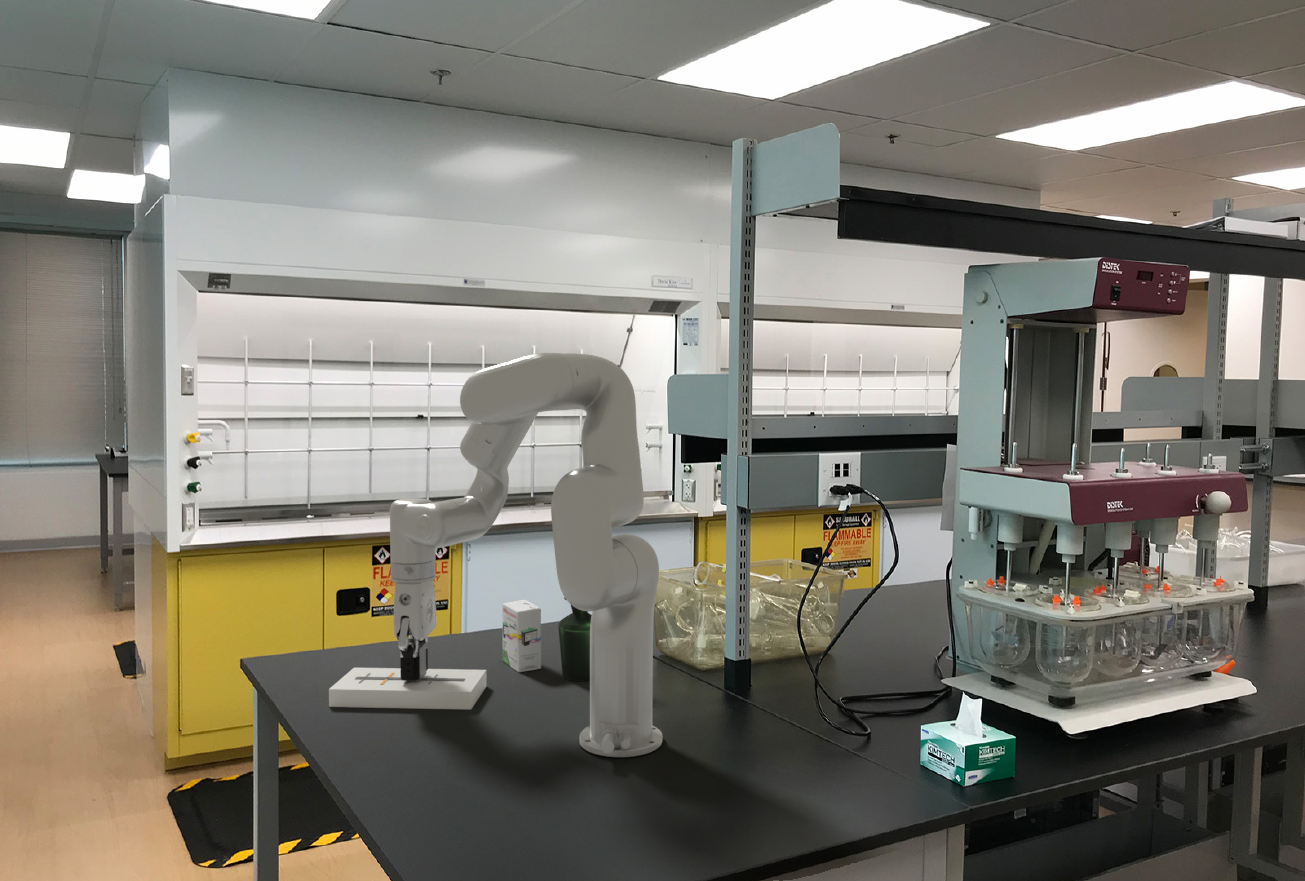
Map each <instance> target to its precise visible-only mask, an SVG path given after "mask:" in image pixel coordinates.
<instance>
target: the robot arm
mask: <svg viewBox="0 0 1305 881" xmlns="http://www.w3.org/2000/svg"><path fill="white" fill-rule="evenodd" d="M634 389H635V388H634V386H633V384H632V382H631V379H630V378H629V376H628V375H627V373H626V372H625V371H624V369H623V368H621V367H620V366H619V365H617V364H616V363H615V362H613V361H611V360H610V359H607V358H604V357H601V356H598V355H593V354H588V353H587V354H586V353H562V352H561V353H557V352H539V353H533V354H529V355H526V356H522V357H519V358H516V359H512V360H510V361H507V362H502V363H499V364H496V365H492V366H489V367H486V368H482V369H480V370H478V371H475V373H473V374H471V375H470V376H469V377H468V378H467V380H466V381H465V382H464V384H463V386H462V389H461V392H460V396H459V405H460V409H461V412H462V413H463V415H464V417H465V418H466V419H467V420H468V421H469V422H471V423H470V426H469V427H468V429H467V431H466V433H465V435H464V436H463V438H462V439H461V442H460V444H459V450H460V454H461V455H462V457H463V458H464V459H465V461H467V463H468V464H470V465H471V466H472V467H473V468H475V469H477V470H476V475H475V478H474V480H473V481H472V483H471V484H470V485H471V486H470V487H469V488H468V491H467V492H466V494H465V495H464V497H459V498H453V499H447V500H446V499H445V500H441V501H435V502H433V501H432V500H430V499H428V498H422V497H421V498H420V497H407V498H400V499H396V500H394V501H393V502H392V503H391V504H390V507H389V533H390V534H389V541H390V543H389V546H390V551H389V552H390V553H389V554H390V555H389V557H390V558H389V560H390V581H391V582H393V583H394V584H395V585H394V595H393V596H394V597H393V633H394V638H395V640H397V641H398V644H397V647H398V648H399V658H400V660H399V661H400V665H399V666H400V668H401V679H402V680H419V679H420V656H418V642H419V643H426V671H427V670H428V669H429V656H428V655H429V649H428V645H429V643H428V642H429V640H428V636H429V635H430V634H431V633H433V631H434V630H435V629H436V627H437V609H436V608H437V606H436V605H437V604H436V592H435V582H434V580H435V579H436V575H437V572H436V568H437V567H436V566H437V565H436V563H437V562H436V549H439V548H440V549H441V548H444V547H449V546H453V545H456V544H461V543H462V544H463V543H465V542H471V541H475V540H478V539H480V538H481V537H483V536H484V535H485V534H487V533H488V531H489V530H490V529H491V527H493V524H494V523H495V522H496V520H497V519H498V517H499V514H500V513H501V511H502V509H503V508H504V505H505V504H506V502H507V498H508V494H509V484H510V480H509V478H510V477H509V471H508V467H509V465H510V464H511V462H512V459H513V458H514V456H515V455H516V453H517V451H518V449H519V448H520V445H521V444H522V442H523V440H524V439H525V437H526V435H527V434H528V432H529V430H530V428H531V427H532V425H533V423H534V421H535V419H536V417H537V416H538V415H539V413H543V412H550V411H551V412H552V411H568V410H569V411H570V410H582V411H584V412H585V413H586V414H585V419H584V421H583V425H582V430H581V437H580V438H581V440H580V441H581V449H582V450H581V451H582V463H583V465H582V466H583V467H579V468H576V469H573V470H570V471H568V472H567V473H566V474H564V475H563V476H562V477H561V478H560V480H559V481H558V482H557V484H556V485H555V488H554V490H553V493H552V496H551V497H552V498H551V502H550V503H551V504H550V515H551V526H552V527H551V528H552V535H553V546H554V548H553V549H554V559H555V567H556V568H555V570H556V575H557V581H558V585H559V588H560V591H561V592H562V595H563V596H564V597H565V598H566V600H565V601H567V602H568V603H569V604H571V605H572V606H574V607H575V608H577V609H579V610H582V611H588V612H592V613H591V615H592V616H591V624H590V680H589V726H586V727H584V728H583V730H581V731H580V733H579V736H578V737H579V745H580V746H581V747H582V748H583V749H584V750H585V751H587V752H589V753H591V754H594V755H598V756H602V757H609V758H631V757H639V756H643V755H647V754H649V753H652V752H653V751H656V750H657V749H659V748H660V747H661V746H662V743H663V737H664V736H663V733H662V731H661V730H660V729H659V728H658V727H656V726H655V725H653V692H654V691H653V684H654V683H653V682H654V681H653V679H654V678H653V677H654V676H653V673H654V672H653V671H654V670H653V669H654V666H653V664H654V661H653V660H654V658H653V656H654V654H653V651H654V645H653V644H654V643H653V642H654V614H655V604H656V603H655V602H656V597H657V596H656V595H657V591H658V585H659V576H660V565H659V559H658V555H657V553H656V551H655V549H654V548H653V546H652V544H650V543H649V542H648V540H646V539H644V538H642V537H641V536H639V535H635V534H627V533H626V534H625V533H624V534H623V533H622V534H617V535H613V531H612V529H615V528H619V527H622V526H625V525H627V524H629V523H632V522H634V521H635V520H636V519H637V518H638V517H639V516H640V515H641V513H642V511H643V510H644V509H643V508H644V500H645V498H644V496H645V495H644V484H643V475H642V474H643V473H642V466H641V463H642V462H641V454H640V446H639V438H638V428H637V426H638V425H637V404H636V395H635V390H634ZM564 597H563V598H564ZM571 605H570V606H571ZM409 643H413V647H412V645H411V644H409Z"/></svg>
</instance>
